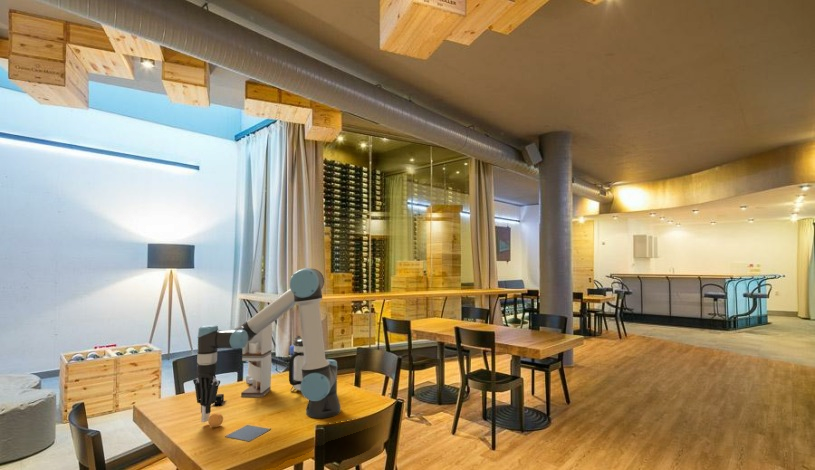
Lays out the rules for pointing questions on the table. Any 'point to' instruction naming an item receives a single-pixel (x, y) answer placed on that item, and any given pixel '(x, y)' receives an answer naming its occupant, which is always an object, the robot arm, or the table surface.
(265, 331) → the wooden cubby shelf
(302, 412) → the table surface
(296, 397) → the table surface
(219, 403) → the black recessed block
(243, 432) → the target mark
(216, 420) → the ball
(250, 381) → the charger
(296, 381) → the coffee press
